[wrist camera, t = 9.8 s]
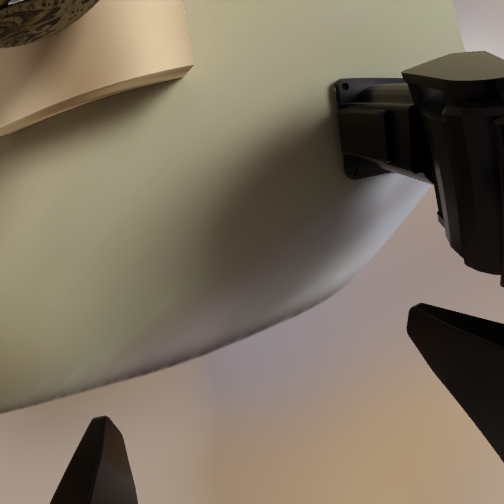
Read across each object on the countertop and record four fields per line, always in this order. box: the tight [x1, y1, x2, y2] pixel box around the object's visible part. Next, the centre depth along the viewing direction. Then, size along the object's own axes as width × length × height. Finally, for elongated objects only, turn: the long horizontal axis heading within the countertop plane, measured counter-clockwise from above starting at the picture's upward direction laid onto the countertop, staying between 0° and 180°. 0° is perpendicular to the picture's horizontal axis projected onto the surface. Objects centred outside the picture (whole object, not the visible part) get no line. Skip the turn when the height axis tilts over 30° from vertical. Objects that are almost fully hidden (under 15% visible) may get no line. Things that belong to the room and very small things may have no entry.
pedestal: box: [0, 0, 194, 136], centre depth 10 cm, size 10×10×4 cm
